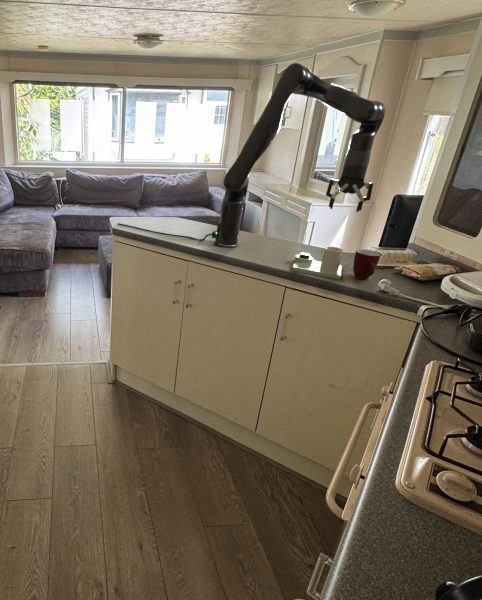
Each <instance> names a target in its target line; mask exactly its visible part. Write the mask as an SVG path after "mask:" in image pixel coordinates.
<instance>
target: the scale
mask: <svg viewBox="0 0 482 600" xmlns="http://www.w3.org/2000/svg"><path fill="white" fill-rule="evenodd" d="M321 262H322V261H319V260H314V257H312V256H311V255H310V257H309V259H304V258H300V254H296V255H295V257H294V263H293V265H292V268H291V271H293V272H297V273H304V274H308V275H313V276H319V277H326V278H330V279H337V280H341V279H342V271H343V265H342V264H339V268H338V271H336V272H331V271H326V270H323V269H321V268H320V266H321Z"/></svg>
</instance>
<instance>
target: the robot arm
mask: <svg viewBox="0 0 482 600" xmlns="http://www.w3.org/2000/svg"><path fill="white" fill-rule="evenodd" d="M293 94H294V95H299V96H305V97H308V98H312V99H315V100H317V101H319V102H320V103H322V104H323V105H325V106H327V107H329V108H331V109H332V110H334V111H337V112H339V113H341V114H344V115H345V116H346V117H348V118H349V119H350V120H352V121H353V122H356V123H358V124H360V125H359V127H358V130H356V131H354V132H353V133H352V134H351V136H350V137H351V138H350V141H349V145H348V149H347V152H346V155H345V158H344V162H343V165H342V169H341V175H340V178H339V179H334V178H330V180H329V182H328V186H327V189H326V193H325V196H326V197H327V198H328V197H329V198H330V199H329V203H328V207H329V208H330V210H333V208H334V203H335V200H336V199H335V198H336V197H337V196H338V195H340V193H343V194H350V195H354V194H355V195H356V196H357V198H358V202H357V206H356V210H355V212H356V213H359V211H361V210H362V209H363V205H364V202H367V201H370V200H371V197H372V192H373V187H374V183H373V182H372V181H370V182H365V179H366V175H367V171H368V167H369V164H370V161H371V154H372V149H373V146H374V141H375V138H376V136H377V134H378V132H379V130H380V128H381V126H382V124H383V122H384V119H385V116H386V105H385V104H384V102H382V101H379V100H371V99H367V98H364V97H362V96H360V95H359V94H358V93H357V92H356V91H353V90H352V89H348V88H346V87H343V86H341V85H338V84H334V83H330V82H328V81H326V80H323V79H322V78H320V77H319V76H318V75H316V74H315V73H314V72H312V71H311V69H310V68H308V67H307V66H305V65H303V64H302V63H299V62H293V63H291V64H289V65H288V66H287V67H286V68H285V69H284V70H283V72H282V73H281V75H280V77H279V79H278V81H277V84H276V85H275V87H274V89H273V91H272V93H271V95H270V98H269V100H268V102H267V103H266V105H265V108H264V109H263V111H262V113H261V114H260V116H259V118H258V119H257V121H256V123H255V124H254V126H253V128H252V130H251V131H250V133H249V135H248V137H247V139H246V141H245V142H244V145H243V146H242V149H241V151H240V153H239V154H238V156H237V158H236V159H235V160H234V162H233V164H232V165H231V167H230V168H229V169H228V170H227V173H225V175H224V177H223V187H224V189H225V192H224V195H223V198H222V201H221V208H220V215H219V220H218V221H219V222H218V223H217V227H216V230H213V231H212V232H211V233H207V234H206V235H204V237H203V238H201V239H199V238H195V237H192V236H187V235H180V234H172V233H166V232H159V231H154V230H151V229H145V228H141V227H137V226H133V225H129V224H125V223H120V222H118V223H117V225H119V226H123V227H127V228H133V229H136V230H140V231H143V232H144V231H145V232H149V233H153V234H157V235H162V236H163V235H165V236H168V237H169V236H170V237H177V238H185V239H191V240H196V241H201V242H203V241H205V240H206V238H207V237H209V236H211V238H212V239H215V241H214V245H218V246H220V247H223V248H224V247H225V248H235V247H238V242H239V238H240V229H241V222H242V217H243V211H244V210H243V209H244V204H245V201H246V198H247V193H248V188H249V183H250V177H249V176H250V173H251V171H252V169H253V167H254V166H255V164H256V163H257V162H258V161H259V159H260V158H261V157H262V156H263V155H264V154H265V152H267V150H268V149H269V147H270V146H271V144H272V143H273V141H274V139H275V138H276V137H277V134H278V133H279V131H280V129H281V125H282V120H283V114H284V109H285V108H286V105H287V103H288V102H289V100H290V98H291V97H292V95H293ZM336 184H337V185H338V187H339V188H337V189H336V190H335V191H334V192H333V193H331V191H332V188H333V187H334V186H335V185H336ZM363 187H365V189H366V190H367V191H366V196H363V194H362V192H361V189H362V188H363Z"/></svg>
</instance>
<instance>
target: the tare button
mask: <svg viewBox="0 0 482 600" xmlns="http://www.w3.org/2000/svg"><path fill="white" fill-rule="evenodd" d="M299 255H300V258H304V259H309V257H310V256H311V254H310V253H309V252H300V253H299Z"/></svg>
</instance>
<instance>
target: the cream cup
mask: <svg viewBox="0 0 482 600" xmlns="http://www.w3.org/2000/svg"><path fill="white" fill-rule="evenodd" d="M343 252H344V249H342V248H341V247H336V246H325V247H324V251H323V254H322V258H321V261H320V262H321V266H320V268H321V269H323V270H326V271H331V272H336V271H338V268H339V265H341V264H340V263H341V260H342V257H343Z"/></svg>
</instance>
